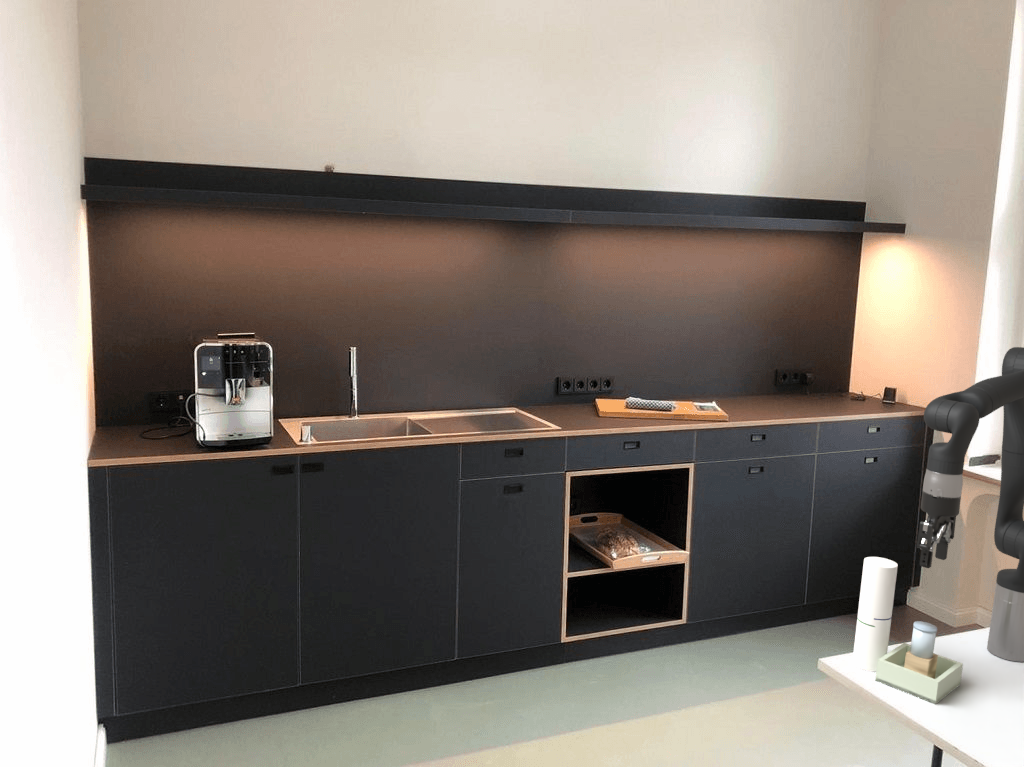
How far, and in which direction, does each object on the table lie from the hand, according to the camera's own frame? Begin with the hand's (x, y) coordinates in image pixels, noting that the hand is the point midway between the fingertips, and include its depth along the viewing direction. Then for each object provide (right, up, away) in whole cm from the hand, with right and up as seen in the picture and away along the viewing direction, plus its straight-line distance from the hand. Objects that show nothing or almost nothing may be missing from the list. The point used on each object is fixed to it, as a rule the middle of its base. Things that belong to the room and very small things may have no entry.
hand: (932, 562), depth 187 cm
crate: (-1, -28, +4) cm, 28 cm away
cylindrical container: (-9, -26, +12) cm, 30 cm away
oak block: (-1, -27, +4) cm, 27 cm away
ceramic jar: (-1, -21, +3) cm, 21 cm away
